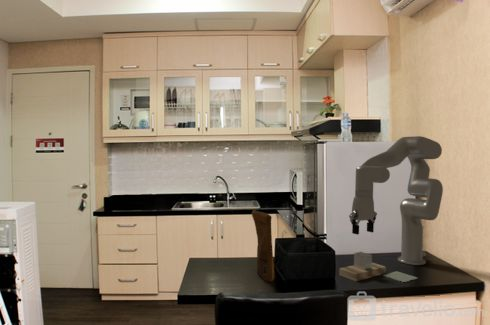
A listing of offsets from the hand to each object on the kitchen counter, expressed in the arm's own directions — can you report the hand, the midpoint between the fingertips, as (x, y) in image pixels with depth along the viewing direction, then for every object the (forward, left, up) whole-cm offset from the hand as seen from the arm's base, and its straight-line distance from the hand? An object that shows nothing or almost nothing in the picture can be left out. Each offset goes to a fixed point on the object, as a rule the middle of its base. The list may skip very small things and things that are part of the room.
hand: (362, 232), depth 157 cm
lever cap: (0, 0, -16) cm, 16 cm away
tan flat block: (0, 0, -19) cm, 19 cm away
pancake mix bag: (+39, -21, -19) cm, 48 cm away
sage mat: (-11, +11, -19) cm, 24 cm away
